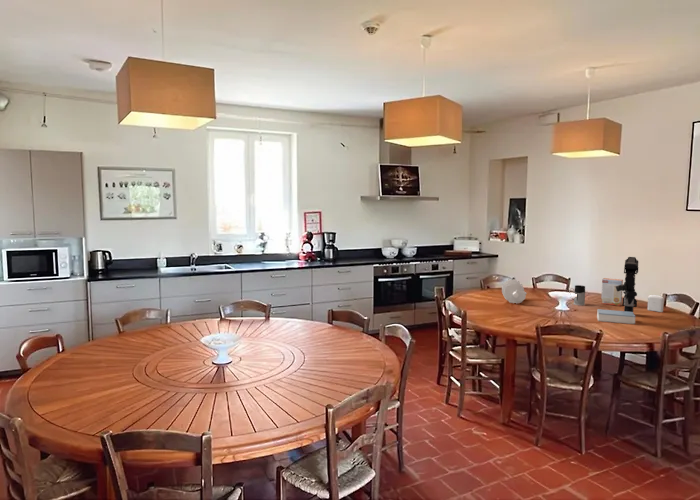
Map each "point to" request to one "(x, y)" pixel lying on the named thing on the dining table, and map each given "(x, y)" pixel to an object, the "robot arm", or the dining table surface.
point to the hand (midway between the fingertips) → (628, 303)
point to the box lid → (616, 313)
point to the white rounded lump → (513, 291)
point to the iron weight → (627, 302)
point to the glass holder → (579, 295)
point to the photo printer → (655, 303)
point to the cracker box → (611, 292)
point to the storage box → (615, 319)
